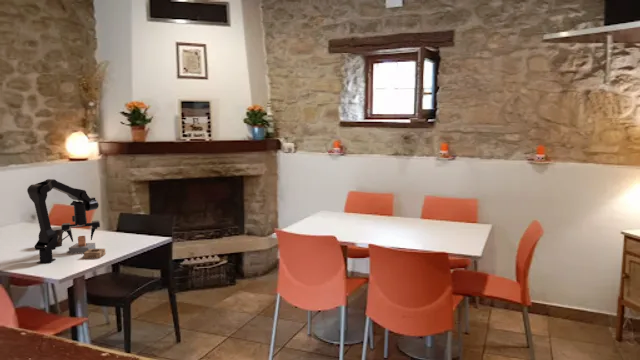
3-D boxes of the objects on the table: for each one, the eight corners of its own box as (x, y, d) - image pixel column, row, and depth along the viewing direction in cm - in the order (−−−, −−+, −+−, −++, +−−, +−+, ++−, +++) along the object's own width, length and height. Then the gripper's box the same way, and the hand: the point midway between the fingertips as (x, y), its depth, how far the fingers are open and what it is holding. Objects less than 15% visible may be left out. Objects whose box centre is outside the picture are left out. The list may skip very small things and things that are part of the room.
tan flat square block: (100, 258, 263) (99, 252, 263) (84, 258, 263) (83, 252, 262) (105, 254, 271) (105, 248, 271) (90, 254, 271) (89, 248, 270)
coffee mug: (44, 248, 283) (43, 230, 282) (49, 244, 292) (48, 227, 291) (67, 247, 286) (66, 229, 284) (71, 243, 294) (70, 226, 293)
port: (88, 252, 273) (88, 247, 273) (69, 253, 273) (68, 247, 272) (95, 248, 283) (95, 242, 283) (76, 248, 283) (76, 243, 282)
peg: (84, 251, 277) (83, 236, 276) (78, 251, 276) (77, 237, 275) (86, 249, 280) (85, 235, 279) (80, 250, 279) (79, 235, 278)
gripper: (98, 208, 286) (100, 235, 288) (61, 211, 279) (63, 239, 281) (98, 212, 276) (100, 240, 278) (60, 215, 269) (62, 244, 271)
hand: (82, 240), depth 277 cm, fingers open, 9 cm apart
